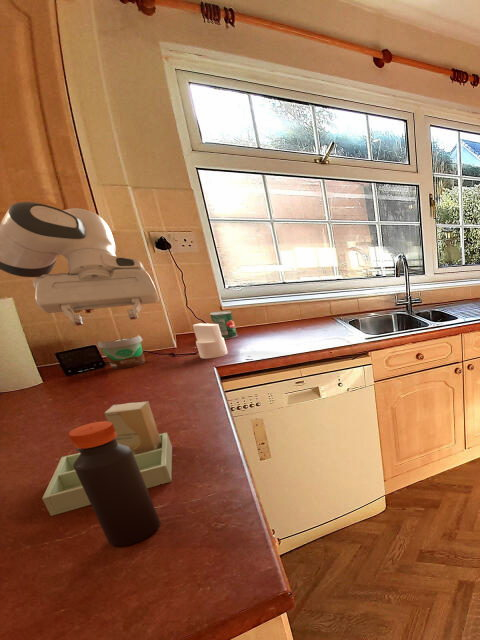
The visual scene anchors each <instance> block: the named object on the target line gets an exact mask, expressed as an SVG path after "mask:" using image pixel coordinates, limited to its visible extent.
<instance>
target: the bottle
mask: <svg viewBox="0 0 480 640" xmlns="http://www.w3.org/2000/svg"><path fill="white" fill-rule="evenodd" d="M68 437H69V439H70V441H71V443H72V445H73V447H74V449H75V450H76V451H77V452H79V453H81V454H80V455H79V457H78V458H77V459H76V461H75V462H74V465H73V466H74V469H75V471H76V473H77V475H78V477H79V480H80V482H81V484H82V486H83V488H84V490H85V493H86V495H87V497H88V499H89V501H90V503H91V507H92V509H93V512H94V514H95V516H96V518H97V521H98V523H99V525H100V528H101V530H102V531H103V534H104V535H105V538H106V540H107V542H108V544H109V545H110V546H113V547H126V546H127V547H129V546H131V545H135V544H137V543H139V542H142V541H145V540H146V539H148V538H149V537H151V536H152V535H153V534H155V533H156V532H157V531H158V530H159V528H160V526H161V520H160V518H159V516H158V513H157V510H156V508H155V505H154V503H153V500H152V498H151V495H150V493H149V490H148V488H146V485H145V483H144V480H143V477H142V475H141V472H140V470H139V467H138V465H137V462H136V460H135V457H134V455H133V452H132V450H131V449H130V448H129V447H128V446H125V445H121V444H118V443H117V441H116V440H117V439H118V437H117V434H116V431H115V429H114V426H113V424H112V423H111V422H108V421H107V420H103V421H102V420H101V421H95V422H90V423H87V424H83V425H80V426H78V427H76V428H73V429H71V430H70V431H69V433H68Z"/></svg>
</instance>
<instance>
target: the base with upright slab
mask: <svg viewBox="0 0 480 640" xmlns="http://www.w3.org/2000/svg"><path fill="white" fill-rule="evenodd" d="M192 328H193V331H194V332H193V333H194V335H195V338H196V341H195V345H196V348H197V351H198V356H199V357H200V359H206V360H207V359H216V358H220V357H225V356H227V355H228V353H229V352H228V348H227V344H226V341H225V339H224V338H223V337H222V335H221V332H220V328H219V325H218V324H213V323H201V322H198V323H194V324H192Z"/></svg>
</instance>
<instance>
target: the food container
mask: <svg viewBox="0 0 480 640" xmlns="http://www.w3.org/2000/svg"><path fill="white" fill-rule="evenodd" d="M143 341H144V339H143V338H142V337H141V335H140V334H137V336H134V337H129V338H119V339H115V340H113V341H98V342H97V347H98V348H99V349H102V353H103V354H104V355H105V357H106V360H107V361H108V363H109V364H110V366H111V368H112V369H127V368H133V367H137V366H140V365H143V364H145V362H146V360H145V359H146V358H145V354H144V349H143V345H142V342H143Z"/></svg>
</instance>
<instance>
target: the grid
mask: <svg viewBox="0 0 480 640" xmlns="http://www.w3.org/2000/svg"><path fill="white" fill-rule="evenodd" d="M159 436H160V439H161V442H162V448H161V449H157V450H153V451H149V452H145V453H141V454H137V455H134V457H135V460H136V462H137V465H138V467H139V470H140V472H141V475H142V477H143V480H144V483H145V485H146V488H147V489H150V488H153V487H158V486H160V484H161V485H164V484H169V483H171V482H172V481H173V480H172V477H173V474H172V473H173V445H172V442H171V440H170V437H169V433H168V432H163V433H159ZM80 454H81V453H80V452H78V453H74V454H69V455H65V456H61V458H60V460H59V462H58V463H57V466H56V468H55V471H54V473H53V475H52V477H51V479H50V480H49V483H48V485H47V488H46V490H45V491H44V494H43V496H42V498H41V499H42V502H43V503H44V505H45V507H46V509H47V511H48V513H49V515H50V517H52V516H53V517H54V516H56V515H59V514H63V513H66V512H69V511H73V510H77V509H80V508H84V507H87V506H90V505H91V503H90V501H89V499H88V497H87V495H86V493H85V490H84V488H83V486H82V484H81V482H80V480H79V477H78V475H77V473H76V471H75V469H74V466H73V465H74V462H75V461H76V459H77V458H78V457H79V455H80ZM91 506H92V505H91Z"/></svg>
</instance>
